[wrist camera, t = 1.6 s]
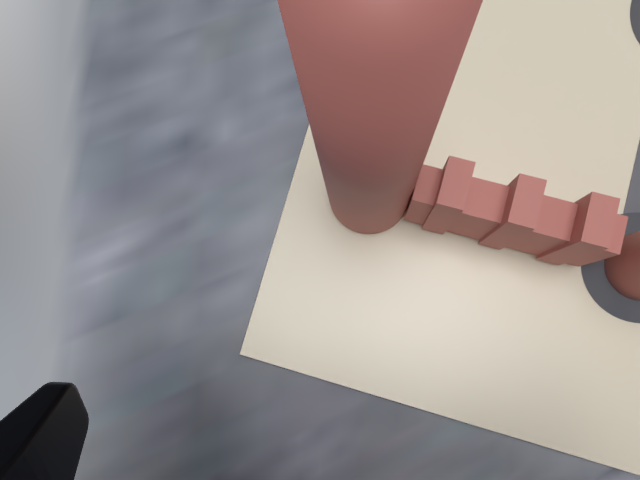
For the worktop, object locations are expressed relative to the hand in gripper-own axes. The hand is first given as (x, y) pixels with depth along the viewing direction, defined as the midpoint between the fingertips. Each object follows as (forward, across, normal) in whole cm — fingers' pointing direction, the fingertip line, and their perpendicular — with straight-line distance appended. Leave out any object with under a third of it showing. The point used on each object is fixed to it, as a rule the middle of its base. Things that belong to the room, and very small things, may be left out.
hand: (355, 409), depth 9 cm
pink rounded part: (+12, -3, +5) cm, 14 cm away
